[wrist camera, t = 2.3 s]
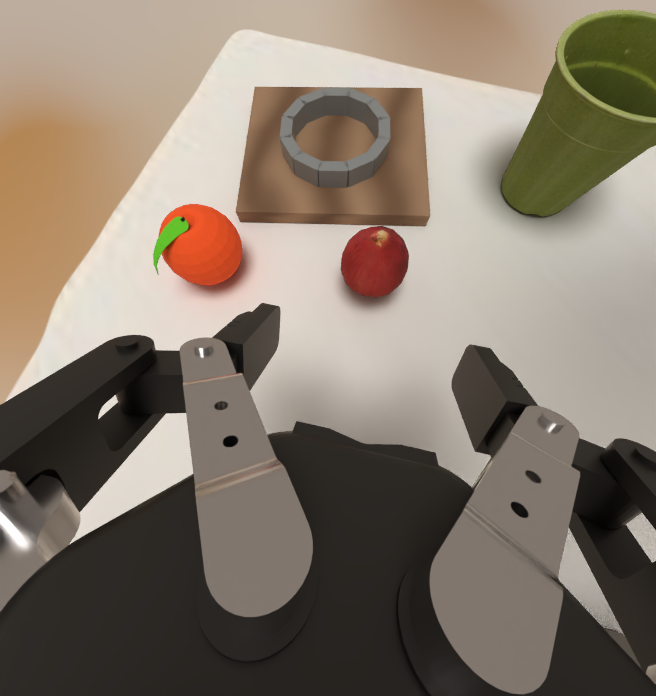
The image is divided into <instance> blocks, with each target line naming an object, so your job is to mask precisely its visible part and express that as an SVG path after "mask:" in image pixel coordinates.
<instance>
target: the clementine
mask: <svg viewBox="0 0 656 696" xmlns="http://www.w3.org/2000/svg"><path fill="white" fill-rule="evenodd" d="M161 254H162V256H163V258H164V260H165V262H166V263H167V264H168V265H169V267H170V268H171V269H172V270H173V272H174V273H176V274H177V275H179V276H180V277H182V278H183V279H185V280H187V281H188V282H192V283H195V284H199V285H214V284H218V283H221V282H223V281H225V280H227V279H228V278H229V277H231V276H232V275H233V274H234V273H235V271H236V270H237V269H238V267H239V264H240V262H241V256H242V244H241V240H240V236H239V234H238V232H237V230H236V228H235V227H234V225H233V224H232V223H231V221H230V220H229V219H228V218H227V217H226V216H225V215H223V214H222V213H220V212H219V211H217V210H215V209H213V208H211V207H208V206H204V205H199V204H189V205H183V206H181V207H178V208H176V209H175V210H173V211H172V212H170V213H169V214H168V215H167V216H166V217H165V219H164V221H163V222H162V224H161V228H160V232H159V238H158V240H157V243H156V246H155V250H154V254H153V256H154V266H155V268H156V271H157V273H158V270H157V263H158V259H159V257H160V255H161Z"/></svg>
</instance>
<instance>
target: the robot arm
mask: <svg viewBox="0 0 656 696" xmlns="http://www.w3.org/2000/svg"><path fill="white" fill-rule="evenodd" d="M279 330H280V307H279V306H275V305H270V304H265V303H261V304H260V305H259V306H258V307H257V308H256V309H255V310H254V311H253V312H249V311H248V312H245V313H243V314H240V315H238V316H237V317H236V318H234V319H233V320H232V322H230V323H229V324H228V325H227V326H225V327H224V328H223V329H222V330H221V331H219V332H218V333H217V334H216V335H215V336H214V337H212V338H197V339H193V340H190V341H188V342H186V343H184V344H183V345H182V346H181V348H180V351H159V350H155V346H154V342H153V340H152V339H151V338H149V337H146V336H141V335H128V336H122V337H117V338H114V339H112V340H109V341H107V342H105V343H104V344H102V345H100V346H99V347H97V348H95V349H94V350H92V351H90V352H89V353H87V354H85V355H84V356H82V357H80V358H79V359H77V360H75V361H74V362H72V363H70V364H68V365H67V366H65V367H63V368H62V369H60V370H58V371H57V372H55V373H53V374H52V375H50V376H48V377H47V378H45V379H43V380H42V381H40V382H38V383H37V384H35V385H33V386H32V387H30V388H28V389H27V390H25V391H23V392H21V393H20V394H18V395H16V396H15V397H13V398H11V399H10V400H8V401H6V402H5V403H3V404H1V405H0V696H656V561H655V562H653V563H652V562H651V561H650V559H649V558H648V556H647V555H646V553H645V552H644V551H643V549H642V548H641V546H640V545H639V543H638V542H637V540H636V539H635V538H634V536H633V535H632V533H631V532H630V530H629V529H628V527H627V526H626V524H627V523H628V522H629V521H631V520H632V519H634V518H635V517H636V516H638V515H639V514H640V513H643V514H644V515H645V517H646V518H647V519H648V521H649V522H650V523H651V524H652V526H653V527H654V528H655V530H656V452H655V451H653V450H651V449H650V448H648V447H646V446H644V445H641V444H639V443H637V442H634V441H631V440H627V439H620V438H619V439H615V440H614V441H613V442H612V443H611V444H610V445H609V446H608V447H607V448H606V449H605V448H603V447H600V446H598V445H595V444H593V443H590V442H588V441H585V440H582V439H580V438H579V432H578V430H577V429H576V428H575V426H574V425H573V424H572V423H571V422H569V421H568V420H567V419H566V418H564V417H563V416H561V415H559V414H558V413H556V412H554V411H552V410H549V409H547V408H544V407H540V406H538V405H537V404H536V402H535V401H534V400H533V398H532V397H531V396H530V394H529V393H528V392H527V390H526V389H525V388H523V385H522V384H521V382H520V381H518V378H517V377H516V375H515V374H514V373H513V371H512V370H510V369H509V368H508V367H507V366H505V365H504V364H503V363H501V362H500V361H499V359H498V358H497V356H496V355H495V354H494V352H493V351H492V350H491V349H490V348H486V347H481V346H476V345H469V346H468V347H467V348H466V350H465V352H464V354H463V356H462V358H461V360H460V362H459V364H458V367H457V369H456V371H455V373H454V375H453V378H452V391H453V393H454V396H455V399H456V401H457V404H458V407H459V410H460V412H461V415H462V418H463V420H464V423H465V426H466V429H467V431H468V434H469V437H470V439H471V442H472V445H473V448H474V450H475V452H479V453H484V454H488V455H491V459H490V460H489V462H488V463H487V465H486V466H485V468H484V469H483V471H482V472H481V474H480V476H479V477H478V479H477V480H476V482H475V483H474V485H473V486H472V487H470V486H469V485H468V484H467V483H466V482H465V481H463V480H462V479H461V478H459V477H458V476H456V475H455V474H453V473H452V472H450V471H449V470H447V469H445V468H443V467H441V466H439V465H438V462H437V457H436V453H434V452H430V451H426V450H421V449H417V448H412V447H408V446H404V445H381V444H363V443H360V442H358V441H356V440H354V439H351V438H349V437H347V436H345V435H343V434H340V433H338V432H336V431H334V430H331V429H329V428H324V427H320V426H316V425H311V424H307V423H302V422H298V421H296V424H295V427H294V429H293V431H286V432H277V433H272V434H269V435H267V434H266V431H265V429H264V426H263V424H262V421H261V419H260V416H259V414H258V411H257V409H256V406H255V404H254V401H253V399H252V396H251V394H250V390H251V388H252V387H253V385H254V384H255V382H256V381H257V379H258V378H259V376H260V375H261V373H262V372H263V370H264V369H265V367H266V366H267V364H268V362H269V361H270V359H271V358H272V356H273V355H274V353H275V352H276V350H277V347H278V342H279ZM114 395H116V397H117V400H118V403H117V404H116V405H114V406H113V407H112V408H111V409H110V410H109V411H108V412H106V413H105V414H104V415H103V416H102V417H101V418H100V419H98V415H99V412H100V410H101V408H102V406H103V405H104V404H105V403H106V402H107V401H108V400H110V399H111V398H112V397H113V396H114ZM166 413H186V414H187V423H188V431H189V439H190V448H191V456H192V464H193V473H194V474H193V475H191V476H189V477H187V478H185V479H184V480H182V481H180V482H178V483H177V484H175V485H173V486H171V487H170V488H168V489H166V490H164V491H162V492H161V493H159V494H157V495H155V496H154V497H152V498H150V499H148V500H147V501H145V502H143V503H141V504H139V505H138V506H136V507H134V508H132V509H131V510H129V511H127V512H125V513H124V514H122V515H120V516H118V517H116V518H115V519H113V520H111V521H109V522H108V523H106V524H104V525H102V526H100V527H99V528H97V529H95V530H93V531H92V532H90V533H88V534H86V535H84V536H83V537H81V538H79V539H78V540H76V541H75V542H73V543H71V544H70V542H71V541H72V539H73V538H74V536H75V534H76V532H77V530H78V528H79V525H80V513H79V512H80V511H81V510H82V509H83V508H84V507H85V506H86V504H87V503H88V502H89V501H90V500H91V499H92V498H93V496H94V495H95V494H96V493H97V492H98V491H99V490H100V488H101V487H102V486H103V485H104V484H105V483H106V482H107V480H108V479H109V478H110V477H111V476H112V475H113V474H114V472H115V471H116V470H117V469H118V468H119V467H120V466H121V464H122V463H123V462H124V461H125V460H126V459H127V457H128V456H129V455H130V454H131V453H132V452H133V451H134V449H135V448H136V447H137V446H138V445H139V444H140V443H141V441H142V440H143V439H144V438H145V437H146V436H147V435H148V433H149V432H150V431H151V430H152V429H153V428H154V427H155V425H156V424H157V423H158V422H159V421H160V420H161V419H162V417H163V416H164V415H165V414H166ZM568 528H570V530H571V532H572V534H573V536H574V538H575V540H576V542H577V544H578V546H579V548H580V550H581V551H582V553H583V555H584V557H585V559H586V561H587V563H588V565H589V567H590V569H591V571H592V573H593V575H594V577H595V579H596V581H597V583H598V585H599V586H600V588H601V590H602V592H603V594H604V596H605V598H606V600H607V602H608V604H609V606H610V608H611V610H612V612H613V614H614V616H615V618H616V620H617V622H618V623H619V625H620V627H621V629H622V631H623V633H624V635H625V637H626V639H627V641H628V643H629V645H630V647H631V649H632V651H633V653H634V655H635V657H636V658H637V660H638V662H639V664H640V666H641V668H642V669H641V668H640V667H639V666H638V665H637V664H636V663H635V662H634V660H633V659H632V658H631V657H630V656H629V655H628V654H627V653H626V652H625V651H624V650H623V649H622V648H621V646H620V645H619V644H618V643H617V642H616V641H615V640H614V639H613V638H612V637H611V636H610V635H609V634H608V633H607V631H606V630H605V629H604V628H603V627H602V626H601V625H600V624H599V623H598V622H597V621H596V620H595V619H594V618H593V616H592V615H591V614H590V613H589V612H588V611H587V610H586V609H585V608H584V607H583V606H582V605H581V604H580V603H579V601H578V600H577V599H576V598H575V597H574V596H573V595H572V594H571V593H570V592H569V591H568V590H567V589H566V587H565V586H564V585H563V584H562V583H561V582H560V581H559V580H558V572H559V568H560V563H561V559H562V554H563V550H564V545H565V541H566V537H567V532H568ZM69 544H70V545H69Z"/></svg>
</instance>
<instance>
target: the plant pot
mask: <svg viewBox="0 0 656 696" xmlns="http://www.w3.org/2000/svg"><path fill="white" fill-rule="evenodd" d="M655 145H656V14H653V13H648V12H644V11H636V10H610V11H603V12H599V13H596V14H591V15H588V16H585V17H583V18H581V19H579V20H577V21H575V22H574V23H573V24H571V25H570V26H569V27H568V28H567V29H566V30H565V31H564V33H563V34H562V35H561V37H560V39H559V41H558V44H557V48H556V62H555V64H554V66H553V68H552V71H551V73H550V75H549V77H548V79H547V81H546V84H545V86H544V90H543V95H542V97H541V99H540V101H539V103H538V105H537V108H536V110H535V112H534V114H533V116H532V118H531V120H530V122H529V124H528V126H527V128H526V130H525V133H524V135H523V137H522V139H521V141H520V143H519V145H518V147H517V149H516V151H515V153H514V155H513V157H512V160H511V162H510V164H509V166H508V168H507V170H506V172H505V174H504V176H503V180H502V193H503V195H504V197H505V199H506V200H507V202H508V203H509V204H510V205H511V206H512V207H514V208H515V209H517V210H518V211H520V212H522V213H525V214H536V215H539V216H541V217H543V216H549V215H553V214H556V213H558V212H560V211H561V210H562V209H564V208H565V207H567V206H568V205H569V204H571V203H572V202H574V201H575V200H576V199H578V198H579V197H581V196H582V195H583V194H585V193H586V192H588V191H589V190H591V189H592V188H593V187H595V186H596V185H598V184H599V183H600V182H602V181H603V180H605V179H606V178H608V177H609V176H610V175H612V174H613V173H615V172H616V171H617V170H619V169H620V168H622V167H623V166H624V165H626V164H627V163H629V162H630V161H631V160H633V159H634V158H636V157H637V156H638V155H640V154H641V153H643V152H644V151H646V150H647V149H648V148H650V147H653V146H655Z"/></svg>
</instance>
